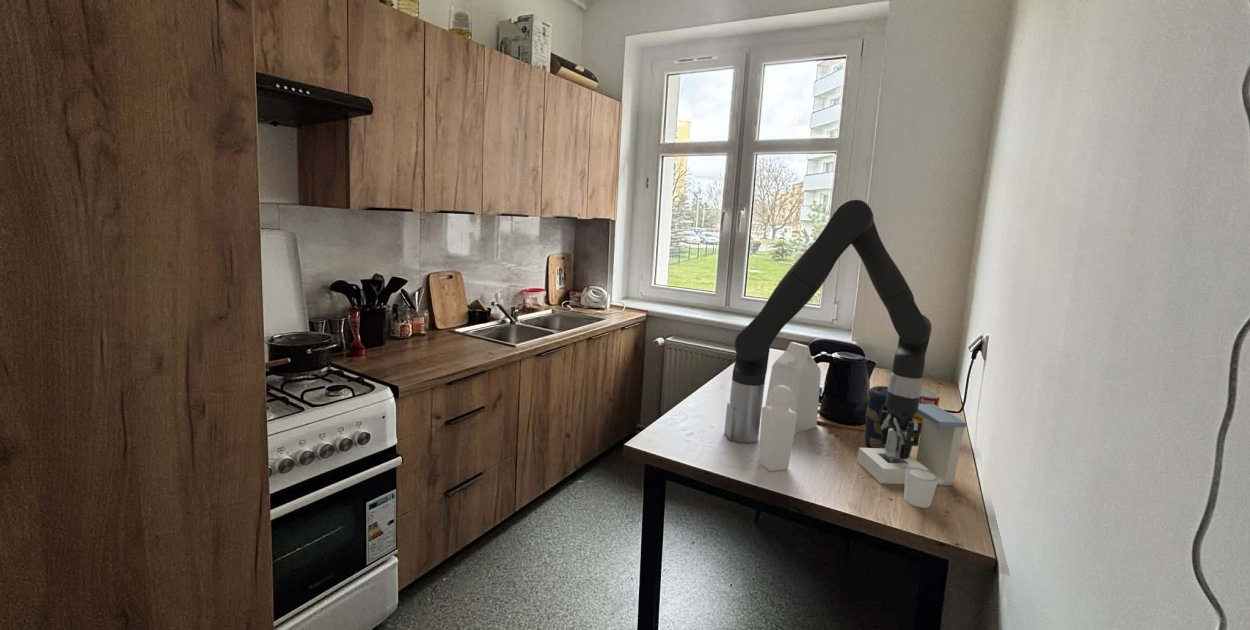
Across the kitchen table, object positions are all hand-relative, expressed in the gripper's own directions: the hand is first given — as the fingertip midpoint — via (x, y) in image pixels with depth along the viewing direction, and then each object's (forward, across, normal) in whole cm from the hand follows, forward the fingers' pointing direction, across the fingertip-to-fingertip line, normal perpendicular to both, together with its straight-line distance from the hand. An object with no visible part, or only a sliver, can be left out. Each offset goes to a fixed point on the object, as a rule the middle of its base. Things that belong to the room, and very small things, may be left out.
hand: (893, 450), depth 139 cm
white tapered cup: (+6, +14, -2) cm, 16 cm away
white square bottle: (+6, -2, -31) cm, 32 cm away
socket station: (+6, 0, +4) cm, 7 cm away
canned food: (+6, -31, +28) cm, 42 cm away
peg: (+6, 0, 0) cm, 6 cm away
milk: (+6, -32, -15) cm, 36 cm away
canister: (+6, -16, +7) cm, 19 cm away
